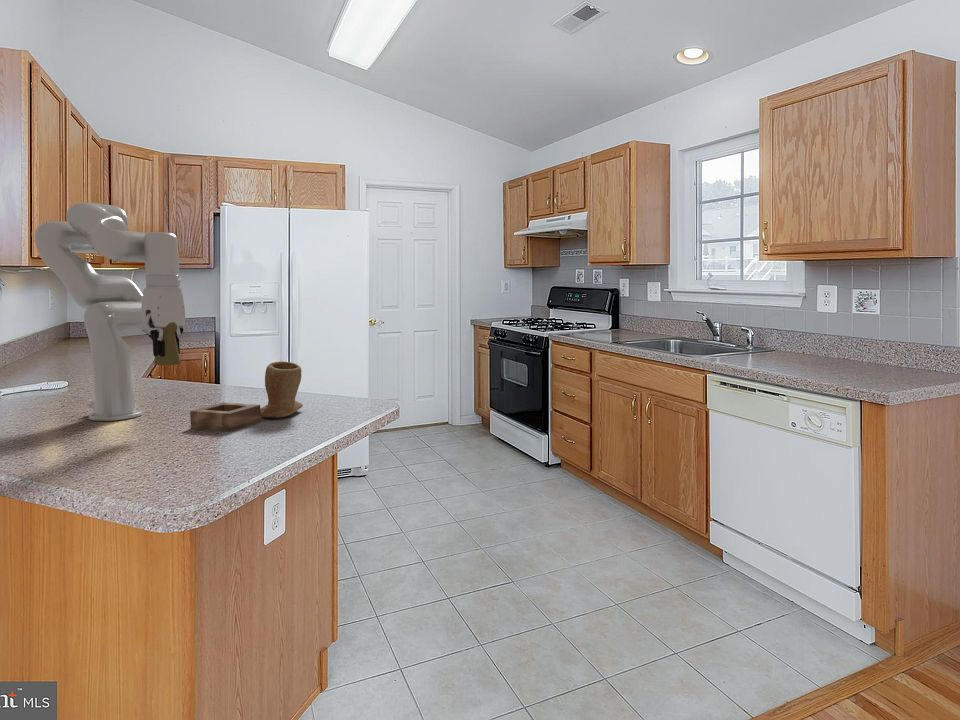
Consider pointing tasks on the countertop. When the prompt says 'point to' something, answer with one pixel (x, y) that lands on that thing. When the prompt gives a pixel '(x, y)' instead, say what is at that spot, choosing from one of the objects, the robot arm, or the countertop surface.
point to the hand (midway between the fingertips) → (166, 354)
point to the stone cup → (281, 389)
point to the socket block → (225, 416)
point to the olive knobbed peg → (169, 347)
